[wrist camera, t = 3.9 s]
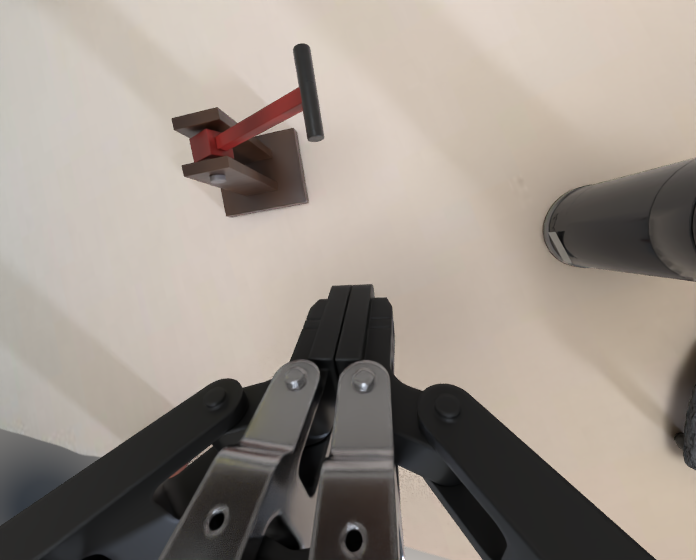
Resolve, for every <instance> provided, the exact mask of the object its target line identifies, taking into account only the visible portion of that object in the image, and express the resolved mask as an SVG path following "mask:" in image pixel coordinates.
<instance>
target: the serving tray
mask: <svg viewBox="0 0 696 560" xmlns="http://www.w3.org/2000/svg"><path fill="white" fill-rule="evenodd" d="M674 440H675V441H676V444H677V445H678V447H679V448H680V449H682V450H683V456H684V461H685V463H686V464H687V466H689V467H691V468H693V469H694V470H696V385H695V387H694V389H693V392H692V397H691V399H690V401H689V405H688V411H687V414H686V422H685V426H684V433H678V434H676V435H675V437H674Z"/></svg>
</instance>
